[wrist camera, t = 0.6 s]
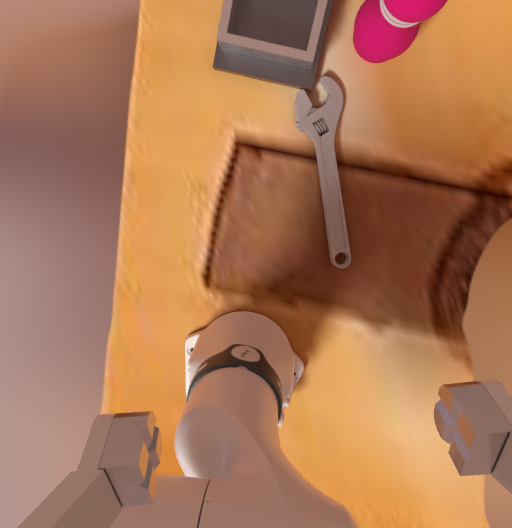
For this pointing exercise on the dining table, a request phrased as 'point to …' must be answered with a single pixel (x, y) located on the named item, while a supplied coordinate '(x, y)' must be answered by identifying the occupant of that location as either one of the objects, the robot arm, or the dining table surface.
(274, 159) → the dining table surface
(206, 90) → the dining table surface
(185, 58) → the dining table surface
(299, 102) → the adjustable wrench
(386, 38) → the pepper mill
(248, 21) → the socket stand
